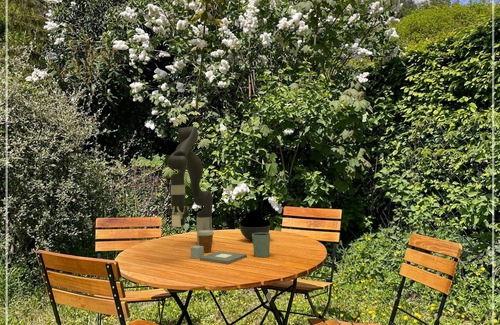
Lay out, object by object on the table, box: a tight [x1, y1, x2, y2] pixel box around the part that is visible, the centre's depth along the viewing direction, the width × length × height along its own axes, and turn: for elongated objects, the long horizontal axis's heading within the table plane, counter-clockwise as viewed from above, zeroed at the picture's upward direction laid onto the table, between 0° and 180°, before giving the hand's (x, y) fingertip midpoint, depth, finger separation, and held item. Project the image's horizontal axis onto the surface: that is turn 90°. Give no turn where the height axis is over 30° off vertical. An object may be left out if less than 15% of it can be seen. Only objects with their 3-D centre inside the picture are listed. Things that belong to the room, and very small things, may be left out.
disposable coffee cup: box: [196, 230, 214, 254], centre depth 250 cm, size 10×10×12 cm
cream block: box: [171, 213, 186, 228], centre depth 232 cm, size 5×5×6 cm
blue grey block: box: [190, 245, 205, 260], centre depth 236 cm, size 5×5×6 cm
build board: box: [199, 250, 248, 265], centre depth 233 cm, size 18×18×2 cm
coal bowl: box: [239, 210, 271, 242], centre depth 282 cm, size 20×20×19 cm
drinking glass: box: [252, 233, 271, 258], centre depth 239 cm, size 10×10×12 cm
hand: (178, 225), depth 232 cm, fingers closed on cream block, 5 cm apart
